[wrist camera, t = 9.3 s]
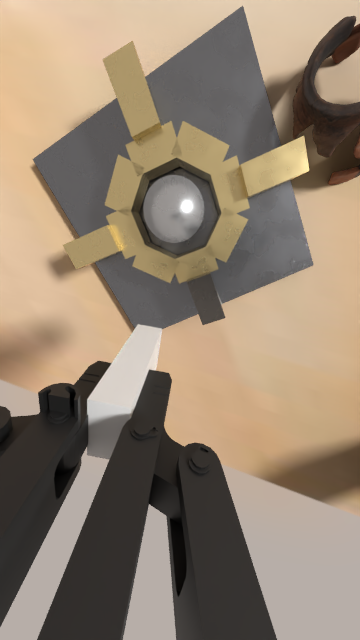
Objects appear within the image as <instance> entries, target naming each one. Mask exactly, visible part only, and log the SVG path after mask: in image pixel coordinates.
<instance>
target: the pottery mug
mask: <svg viewBox="0 0 360 640" xmlns="http://www.w3.org/2000/svg"><path fill="white" fill-rule="evenodd" d="M355 22H356V17H355V16H351V17H345V18H343V19H342V20H341V21H340V22H338V23H337V24H336V25H335V26H334V27H333V28H332V29H331V30H330V31H329V32H328V33H327V34H326V35H325V36H324V37H323V39H322V40H321V41H320V42H319V44H318V45H317V46H316V48H315V49H314V51H313V53H312V55H311V56H310V58H309V61H308V65H307V66H306V68H305V71H304V74H303V77H302V78H301V80H300V82H299V84H298V86H297V89H296V95H295V97H294V100H293V112H294V126H293V138H294V139H296V138H297V137H298V135H299V134H300V133H301V132H302V131H304V130H305V129H306V128H308V127H309V126H310V125H312V124H314V128H313V139H314V142H315V143H316V145H317V152H318V154H319V155H322V156H324V157H330V156H331V155H332V154H333V151H334V150H335V147H336V146H337V145H338V144H339V143H341V142H342V141H343V140H344V139H345V138H346V136H347V135H348V134H349V133H351V132H352V131H353V130H354V129H355V128H356V127H357V126H359V125H360V102H358V103H354V104H348V105H340V104H332V103H329V102H326V101H325V100H323V99H321V98H320V96H319V95H318V93H317V91H316V88H315V85H314V79H315V75H316V72H317V70H318V68H319V67H320V65H321V63H322V62H323V61H324V60H325V59H326V58H328V57H330V56H331V55H332V58H333V59H334V61H335V63H339V62H341V61H343V60H344V59H346V58H347V57H349V56H350V55H351V54H353V53H354V52H355V51H356V50H358V48H359V47H360V24H358V25H356V26H355V27H354V25H355ZM353 153H354V156H355V157H356V158H360V133H359V137H358V141H357V143H356V145H355V148H354V151H353ZM359 175H360V165H359V166H357V167H353V168H350V169H346V170H342V171H336V172H333V173H332V175H331V178H330V180H329V181H328V184H329V185H333V184H340V183H343V182H346V181H349V180H351V179H353V178H355V177H357V176H359Z"/></svg>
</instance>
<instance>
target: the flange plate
mask: <svg viewBox="0 0 360 640" xmlns="http://www.w3.org/2000/svg"><path fill="white" fill-rule="evenodd" d="M145 78H146V81H147V84H148V87H149V90H150V93H151V96H152V99H153V102H154V105H155V108H156V111H157V114H158V117H159V120H160V123H161V126H162V125H164V124H166V123H168V122H170V121H172V125H173V128H174V131H175V134H176V137H177V136H178V133H179V131H180V128H181V125H182V122H183V121H184V122H186V123H188V124H190V125H192V126H194V127H196V128H198V129H200V130H201V131H203V132H205V133H207V134H209V135H211V136H213V137H215V138H217V139H218V140H220V141H222V142H224V143H226V144H228V145H230V146H229V148H228V151H227V154H226V156H225V158H224V161H226V160H228V159H230V158H232V157H234V156H236V155H237V158H238V162H239V166H240V165H241V164H243V163H245V162H247V161H249V160H252V159H254V158H256V157H258V156H260V155H263V154H265V153H267V152H269V151H271V150H274V149H276V148H278V147H280V146H281V144H280V140H279V136H278V133H277V129H276V125H275V122H274V118H273V114H272V111H271V107H270V103H269V100H268V96H267V92H266V89H265V85H264V81H263V78H262V74H261V70H260V67H259V63H258V59H257V56H256V52H255V48H254V45H253V41H252V37H251V34H250V30H249V26H248V23H247V19H246V15H245V12H244V8H243V6H242V7H240V8H239V9H238V10H236V11H235V12H234V13H232V14H231V15H229V16H228V17H227V18H225V19H224V20H223V21H221V22H220V23H219V24H217V25H216V26H214V27H213V28H212V29H210V30H209V31H208V32H206V33H205V34H203V35H202V36H201V37H199V38H198V39H197V40H195V41H194V42H193V43H191V44H190V45H188V46H187V47H186V48H184V49H183V50H182V51H180V52H179V53H178V54H176V55H175V56H173V57H172V58H171V59H169V60H168V61H167V62H165V63H164V64H162V65H161V66H160V67H158V68H157V69H156V70H154V71H153V72H152V73H150V74H149V75H147V76H146V77H145ZM132 141H134V139H133V138H132V136H131V134H130V131H129V128H128V126H127V123H126V120H125V118H124V115H123V112H122V110H121V107H120V105H119V102H118V99H117V98H116V99H115V100H113V101H112V102H111V103H109V104H108V105H106V106H105V107H104V108H102V109H101V110H100V111H98V112H97V113H95V114H94V115H93V116H91V117H90V118H89V119H87V120H86V121H85V122H83V123H82V124H80V125H79V126H78V127H76V128H75V129H74V130H72V131H71V132H70V133H68V134H67V135H65V136H64V137H63V138H61V139H60V140H59V141H57V142H56V143H54V144H53V145H52V146H50V147H49V148H48V149H46V150H45V151H44V152H42V153H41V154H39V155H38V156H37V157H35V158H34V159H33V161H34V162H35V164H36V166H37V167H38V169H39V171H40V172H41V174H42V176H43V177H44V179H45V181H46V182H47V184H48V186H49V187H50V189H51V191H52V192H53V194H54V196H55V197H56V199H57V200H58V202H59V204H60V205H61V207H62V209H63V210H64V212H65V214H66V215H67V217H68V219H69V220H70V222H71V224H72V225H73V227H74V229H75V230H76V232H77V234H78V235H79V237H82V236H84V235H86V234H89V233H91V232H93V231H95V230H97V229H100V228H102V227H104V226H106V225H109V222H108V220H107V218H106V216H107V215H109V214H112V213H114V212H116V210H114V209H112V208H110V207H108V206H105V202H106V198H107V194H108V190H109V187H110V183H111V179H112V175H113V172H114V168H115V164H116V161H117V157H118V155H120V156H122V157H124V158H126V159H128V160H130V161H131V159H130V156H129V154H128V151H127V148H126V146H125V145H126V144H128V143H130V142H132ZM224 161H223V162H224ZM248 203H249V207H250V208H249V209H246V210H244V211H241V212H239V213H236V214H238V215H240V216H242V217H244V218H246V219H248V221H247V223H246V225H245V227H244V229H243V231H242V233H241V235H240V237H239V239H238V241H237V243H236V244H235V246H234V248H233V250H232V252H231V254H230V256H229V258H228V260H227V262H224V261H222V260H219V259H217V258H215V259H216V262H217V266H218V270H215V271H212V272H210V273H211V276H212V279H213V282H214V285H215V288H216V291H217V294H218V297H219V300H220V303H221V305H222V304H223V303H225V302H227V301H230V300H232V299H234V298H237V297H239V296H242V295H244V294H246V293H249V292H251V291H253V290H256V289H258V288H260V287H263V286H265V285H268V284H270V283H272V282H275V281H277V280H279V279H282V278H284V277H286V276H289V275H291V274H294V273H296V272H298V271H301V270H303V269H305V268H308V267H310V266H312V265H313V261H312V258H311V254H310V250H309V247H308V243H307V239H306V236H305V232H304V228H303V225H302V221H301V217H300V214H299V210H298V206H297V203H296V199H295V195H294V192H293V188H292V184H291V181H288V182H286V183H283V184H281V185H279V186H276V187H274V188H272V189H269V190H267V191H264V192H262V193H260V194H257V195H255V196H252V197H250V198H248ZM139 215H140V217H141V220H142V222H143V225H144V227H145V229H146V232H147V234H148V237H149V239H150V242H151V243H152V244H154V245H156V246H158V247H160V248H162V249H165V250H167V251H169V252H171V253H173V254H175V255H177V256H178V255H180V254H183V253H185V252H188V251H190V250H193V249H195V248H198V247H201V246H203V245H205V244H206V242H207V239H208V237H209V235H210V233H211V231H212V229H213V226H214V224H215V222H216V220H217V218H218V216H219V214H218V211H217V207H216V204H215V201H214V197H213V194H212V190H211V187H210V184H209V181H207V180H205V179H203V178H201V177H199V176H197V175H195V174H193V173H191V172H189V171H187V170H185V169H183V168H181V167H177V168H175V169H173V170H171V171H169V172H167V173H165V174H163V175H161V176H158V177H156V178H154V179H152V180H150V181H149V184H148V187H147V190H146V193H145V196H144V199H143V202H142V205H141V208H140V211H139ZM135 257H136V255H134V256H132V257H129V258H127V259H125V257H124V255H123V253H122V252H119V253H117V254H115V255H112V256H110V257H107V258H105V259H103V260H100V261H98V262H96V265H97V267H98V268H99V270H100V272H101V273H102V275H103V277H104V278H105V280H106V282H107V283H108V285H109V287H110V288H111V290H112V292H113V293H114V295H115V296H116V298H117V300H118V301H119V303H120V305H121V306H122V308H123V310H124V311H125V313H126V315H127V316H128V318H129V320H130V321H131V323H132V325H133V326H134V328H136V326H137V325H138V324H139V325H145V326H151V327H156V328H162V329H164V328H166V327H168V326H171V325H173V324H175V323H178V322H180V321H183V320H185V319H187V318H190V317H192V316H194V315H197V314H198V311H197V309H196V306H195V303H194V301H193V298H192V295H191V293H190V290H189V287H188V285H187V281H185V282H182V283H180V284H179V282H178V279H177V277H176V274H174V277H173V279H172V281H171V283H168V282H166V281H164V280H162V279H160V278H157V277H155V276H153V275H151V274H148V273H146V272H144V271H142V270H140V269H137V268H135V267H133V266H132V265H133V262H134V260H135Z"/></svg>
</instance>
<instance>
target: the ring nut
mask: <svg viewBox="0 0 360 640" xmlns="http://www.w3.org/2000/svg"><path fill="white" fill-rule="evenodd" d="M103 62H104V65H105V67H106V70H107V73H108V75H109V78H110V81H111V83H112V86H113V89H114V91H115V94H116V97H117V99H118V102H119V105H120V107H121V110H122V112H123V115H124V118H125V120H126V123H127V126H128V128H129V131H130V134H131V136H132V138H133V139H134V141H132V142H130V143H128V144H126V145H125V146H126V148H127V151H128V154H129V156H130V159H131V161H130V160H128V159H126V158H124V157H122V156H120V155H118V157H117V161H116V164H115V168H114V172H113V175H112V179H111V183H110V187H109V190H108V194H107V198H106V202H105V206H108V207H110V208H112V209H114V210H116V212H114V213H112V214H109V215H107V216H106V218H107V220H108V222H109V225H106V226H104V227H102V228H100V229H97V230H95V231H93V232H91V233H89V234H86V235H84V236H82V237H80V238H78V239H75V240H73V241H71V242H69V243H67V244H64V245H63V246H64V248H65V250H66V252H67V254H68V256H69V257H70V259H71V261H72V263H73V265H74V267H75V268H76V269H79V268H81V267H84V266H87V265H90V264H93V263H96V262H98V261H100V260H103V259H105V258H107V257H110V256H112V255H115V254H117V253H119V252H122V253H123V255H124V257H125V259H127V258H129V257H132V256H134V255H136V257H135V260H134V262H133V265H132V266H133V267H135V268H137V269H140V270H142V271H144V272H146V273H148V274H151V275H153V276H155V277H157V278H160V279H162V280H164V281H166V282H168V283H171V281H172V279H173V277H174V274H176V277H177V279H178V282H179V284H180V283H182V282H185V281H187V285H188V287H189V290H190V293H191V295H192V298H193V301H194V303H195V306H196V309H197V311H198V314H199V316H200V319H201V322H202V324H203V325H205V324H208V323H211V322H214V321H217V320H220V319H223V318H225V315H224V312H223V309H222V306H221V303H220V300H219V297H218V294H217V291H216V288H215V285H214V282H213V279H212V276H211V273H210V272H212V271H215V270H218V266H217V262H216V259H215V258H217V259H219V260H222V261H224V262H227V260H228V258H229V256H230V254H231V252H232V250H233V248H234V246H235V244H236V243H237V241H238V239H239V237H240V235H241V233H242V231H243V229H244V227H245V225H246V223H247V221H248V219H246V218H244V217H242V216H240V215H238V214H236V213H239V212H241V211H244V210H246V209H249V208H250V207H249V203H248V198H250V197H252V196H255V195H257V194H260V193H262V192H264V191H267V190H269V189H272V188H274V187H276V186H279V185H281V184H283V183H286V182H288V181H290V180H292V179H294V178H296V177H298V176H300V175H302V174H304V173H306V172H308V171H309V165H308V158H307V152H306V145H305V138H304V136H302V137H300V138H298V139H296V140H293V141H291V142H289V143H287V144H285V145H282V146H280V147H278V148H276V149H274V150H271V151H269V152H267V153H265V154H263V155H260V156H258V157H256V158H254V159H252V160H249V161H247V162H245V163H243V164H241V165H240V166H239V162H238V158H237V155H236V156H234V157H232V158H230V159H228V160H226V161H224V158H225V156H226V154H227V151H228V148H229V146H230V145H228V144H226V143H224V142H222V141H220V140H218V139H217V138H215V137H213V136H211V135H209V134H207V133H205V132H203V131H201V130H200V129H198V128H196V127H194V126H192V125H190V124H188V123H186V122H184V121H183V122H182V125H181V128H180V131H179V133H178V136H177V137H176V134H175V131H174V128H173V125H172V121H170V122H168V123H166V124H164V125H162V126H161V123H160V120H159V117H158V114H157V111H156V108H155V105H154V102H153V99H152V96H151V93H150V90H149V87H148V84H147V81H146V78H145V75H144V72H143V69H142V66H141V64H140V61H139V58H138V55H137V52H136V49H135V46H134V43H133V41H131V42H130V43H128V44H127V45H125V46H124V47H122V48H120V49H119V50H117V51H116V52H114V53H112V54H111V55H109V56H108V57H106V58H104V59H103ZM223 161H224V162H223ZM177 167H181V168H183V169H185V170H187V171H189V172H191V173H193V174H195V175H197V176H199V177H201V178H203V179H205V180H207V181H209V184H210V187H211V190H212V194H213V197H214V201H215V204H216V207H217V211H218V214H219V216H218V218H217V220H216V222H215V224H214V226H213V229H212V231H211V233H210V235H209V237H208V239H207V242H206V244H205V245H203V246H201V247H198V248H195V249H193V250H190V251H188V252H185V253H183V254H180V255H178V256H177V255H175V254H173V253H171V252H169V251H167V250H165V249H162V248H160V247H158V246H156V245H154V244H152V243H151V242H150V239H149V237H148V234H147V232H146V229H145V227H144V225H143V222H142V220H141V217H140V215H139V211H140V208H141V205H142V202H143V199H144V196H145V193H146V190H147V187H148V184H149V181H150V180H152V179H154V178H156V177H158V176H161V175H163V174H165V173H167V172H169V171H171V170H173V169H175V168H177Z"/></svg>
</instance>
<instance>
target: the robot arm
mask: <svg viewBox="0 0 360 640" xmlns="http://www.w3.org/2000/svg"><path fill="white" fill-rule="evenodd" d="M161 334H162V328H156V327H151V326H145V325H139V324H138V325H137V326H136V328H135V329H134V331H133V332H132V334H131V335H130V337H129V338H128V340H127V341H126V343H125V344H124V346H123V347H122V349H121V350H120V352H119V353H118V355H117V356H116V358H115V359H114V361H113V362H112V363H108V362H102V361H97V362H96V363H94V364H92V365H90V366H89V367H88V369H87V370H86V371H85V372H84V374H83V375H82V376H81V377H80V378H79V380H78V381H77V382H76V383H75V384H74V385H72V384H69V383H59V384H53V385H50V386H48V387H46V388H44V389H42V390H41V391H40V392H38V395H39V404H40V413H39V414H37V415H31V416H18V417H11V415H10V411H9V410H8V409H7V408H6V407H1V406H0V626H1V625H2V622H3V621H4V619H5V616H6V615H7V613H8V611H9V609H10V607H11V605H12V603H13V601H14V599H15V597H16V595H17V593H18V591H19V589H20V587H21V585H22V583H23V581H24V579H25V577H26V575H27V573H28V571H29V569H30V567H31V565H32V563H33V561H34V559H35V557H36V555H37V553H38V551H39V549H40V547H41V545H42V543H43V541H44V539H45V537H46V535H47V533H48V531H49V529H50V527H51V525H52V523H53V522H54V519H55V517H56V516H57V514H58V512H59V510H60V507H61V506H62V504H63V502H64V500H65V498H66V496H67V494H68V492H69V490H70V488H71V486H72V484H73V482H74V480H75V478H76V476H77V474H78V472H79V470H80V466H81V457H82V454H83V453H84V451H85V449H86V447H87V455H90V456H95V457H100V458H105V459H110V460H109V463H108V465H107V467H106V470H105V472H104V475H103V477H102V480H101V483H100V485H99V487H98V490H97V492H96V495H95V497H94V500H93V502H92V505H91V508H90V510H89V512H88V515H87V518H86V520H85V522H84V525H83V527H82V530H81V532H80V535H79V537H78V540H77V542H76V544H75V547H74V550H73V552H72V555H71V557H70V560H69V562H68V564H67V567H66V569H65V572H64V574H63V577H62V579H61V582H60V584H59V587H58V589H57V592H56V594H55V597H54V599H53V602H52V604H51V607H50V609H49V612H48V614H47V617H46V619H45V622H44V624H43V627H42V629H41V632H40V634H39V636H38V639H37V640H123V635H124V630H125V625H126V620H127V614H128V609H129V603H130V599H131V594H132V588H133V583H134V578H135V573H136V567H137V563H138V557H139V552H140V546H141V542H142V536H143V532H144V526H145V521H146V516H147V511H148V505H149V504H150V505H151V506H153V507H155V508H156V509H158V510H159V511H160V512H162V513H163V514H165V515H166V516H167V525H168V539H169V551H170V564H171V577H172V589H173V602H174V615H175V627H176V640H277V638H276V635H275V632H274V629H273V626H272V623H271V620H270V616H269V613H268V610H267V607H266V604H265V601H264V598H263V595H262V591H261V588H260V585H259V582H258V579H257V576H256V573H255V570H254V566H253V563H252V560H251V557H250V554H249V550H248V547H247V544H246V541H245V538H244V535H243V532H242V529H241V525H240V522H239V519H238V516H237V513H236V510H235V507H234V503H233V501H232V497H231V494H230V491H229V488H228V485H227V482H226V478H225V475H224V472H223V469H222V466H221V463H220V460H219V458H218V456H217V454H216V453H215V452H214V451H213V450H212V449H211V448H210V447H208V446H206V445H204V444H200V443H192V444H188V445H186V446H185V447H184V446H182V445H180V444H178V443H176V442H175V441H174V440H172V439H171V438H170V437H169V436H168V435H167V433H166V431H165V428H164V421H165V416H166V411H167V406H168V400H169V394H170V389H171V383H172V379H171V377H170V374H169V373H165V372H160V371H156V367H157V362H158V355H159V348H160V341H161Z"/></svg>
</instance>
